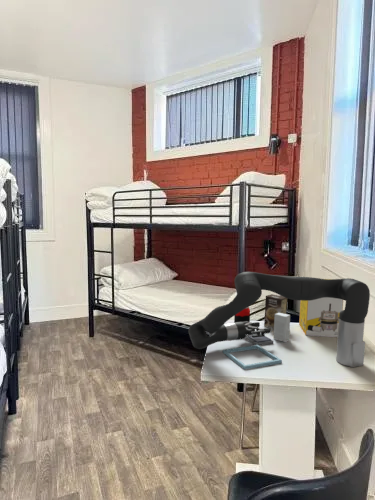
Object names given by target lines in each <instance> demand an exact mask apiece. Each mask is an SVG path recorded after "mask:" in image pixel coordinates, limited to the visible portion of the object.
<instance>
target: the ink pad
mask: <svg viewBox="0 0 375 500" xmlns="http://www.w3.org/2000/svg"><path fill="white" fill-rule="evenodd" d="M245 340H247V341H248V342H249V343H251V344H253V345H259V346H260V347H261V346H265V345H273V344H274V342H275V341H274V339H271V338H269V337H267V336H266V335H265V336H263V337H255V338H253V337H252V335H246V337H245Z"/></svg>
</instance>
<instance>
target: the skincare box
mask: <svg viewBox="0 0 375 500" xmlns="http://www.w3.org/2000/svg"><path fill="white" fill-rule="evenodd" d="M290 324H291V314H288V313H286V314H283V313H276V314H275V317H274V329H273V340H276V341H280V342H284V343H286V342H287V341H289V340H290V328H291V325H290Z"/></svg>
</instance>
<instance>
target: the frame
mask: <svg viewBox="0 0 375 500" xmlns="http://www.w3.org/2000/svg"><path fill="white" fill-rule="evenodd" d="M250 350H258V351H260V352H262V354H265V355H266V356H267V357H269V358H271V360H265V361H261V362H253V363H247V364H245V363H243V362H242V361H241V360H240V359H238V358H237V357H235V356H234V355H233V354H232V353H236V352H243V351H250ZM222 353H223V354H224V355H225V354H226V355H225V356H227V357H228V358H229V359H230V358H231V359H230V360H231V361H233V362H234V363H235V364H236V365H238V366H239V367H241V368H242V369H243V370H249V369H255V368H260V367H265V366H266V367H267V366H271V365H278V364H282V363H283V360H282V359H281V358H280V357H278V356H276V355H275V354H273V353H271V352H270V351H268V350H266V349H265V348H263V347H262V346H261V345H260V346H259V345H254V344H253V345H246V346H240V347H234V348H227V349H222Z"/></svg>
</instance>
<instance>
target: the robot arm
mask: <svg viewBox="0 0 375 500" xmlns="http://www.w3.org/2000/svg"><path fill="white" fill-rule="evenodd" d="M234 286H235V287H234V288H235V290H236V295H235V297H234V298H233V299H232V300H231V301H230V302H229V303H227V304H223V305H220V306H216V307H215V308H214V309H212V310H211V311H210V312H209V313H208V314H207V315H206V316H205V317H204V318H202V319H200V320H199V321H196V322H194V323H192V324H191V325H190V326H189V328H188V331H187V333H188V334H189V338H190V341H191V344H192V346H193V347H194V348H195V349H198V350H203V349H205V348H207V347H209V346H210V345H213V344H216V343H219V342H220V343H221V342H229V341H230V342H231V341H239V340H240V341H241V340H244V339H246V337H247V336H251V335H252V337H253V338H255V337H263V336H266V334H271V329H272V328H269V327H263V328H261V327H260V321H256V322H252V321H250V322H248V321H245V322H234V321H233V322H228V321H229V320H230V319H232V318H233V317H234V315H236V314H238V313H239V312H241V311H242V310H244V309H245V308H247V307H248V308H249V307H250V306H251V305H253V304H254V303H256V302H257V301H259V299H260V298H261V296H262V295H263V294H262V291H267V292H272V293H275V294H276V295H278V296H282V297H285V298H287V300H288V299H289V300H292V301H301V300H302V301H310V300H316V299H319V298H324V297H329V298H337V299H342V300H343V301H345V306H344V309H343V310H342V311H340V313H339V326H338V337H337V341H336V356H335V359H336V362H337V363H338V364H340V365H344V366H347V367H350V368H355V367H356V368H357V367H361V366H364V362H365V361H364V360H365V351H366V350H365V348H366V342H365V341H364V334H365V332H364V331H365V324H366V323H365V320H366V317H367V315H368V312H369V305H370V299H371V298H370V297H371V292H370V288H369V285H367V283H365V282H363V281H360V280H358V279H355V278H349V277H347V278H335V279H334V278H333V279H332V278H321V277H310V276H299V275H298V276H290V275H274V274H269V273H268V274H267V273H261V272H255V271H243V272H241V273H238V274H237V275H236V276H235V277H234ZM226 322H227V323H226ZM245 323H246V324H245ZM207 332H208V333H209V335H208V333H207Z"/></svg>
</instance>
